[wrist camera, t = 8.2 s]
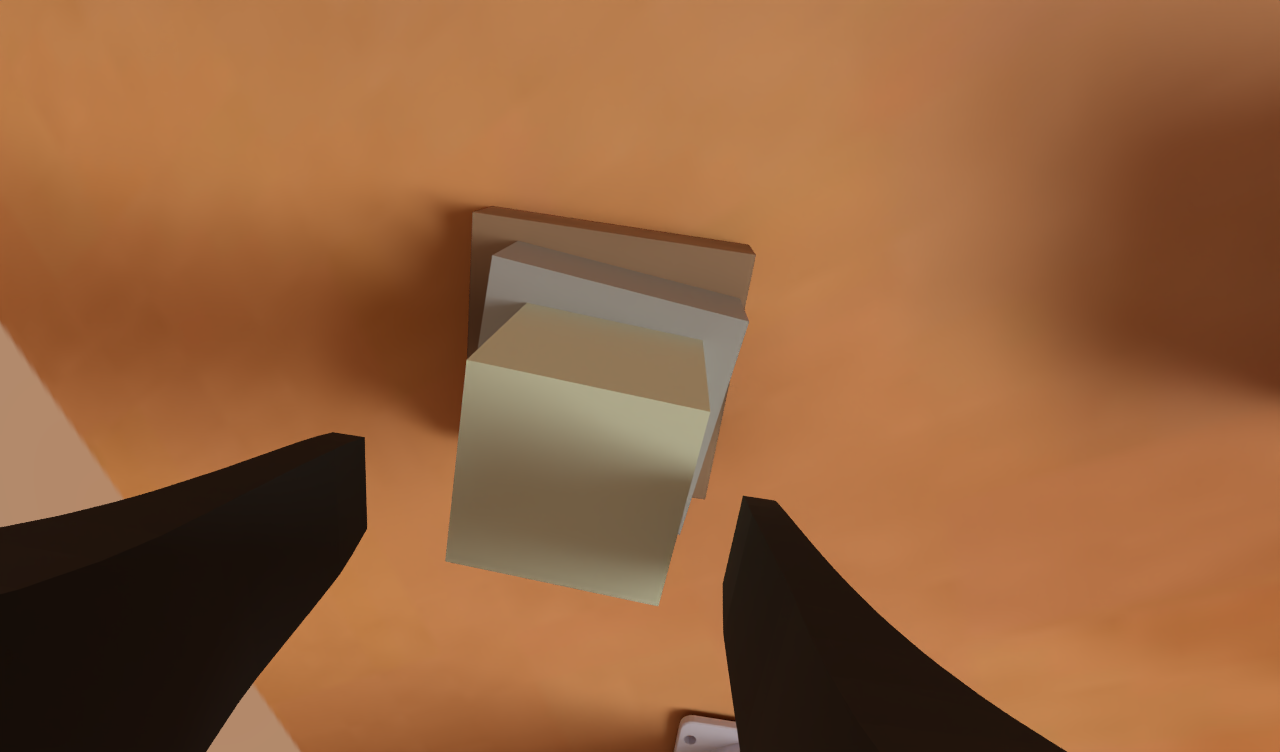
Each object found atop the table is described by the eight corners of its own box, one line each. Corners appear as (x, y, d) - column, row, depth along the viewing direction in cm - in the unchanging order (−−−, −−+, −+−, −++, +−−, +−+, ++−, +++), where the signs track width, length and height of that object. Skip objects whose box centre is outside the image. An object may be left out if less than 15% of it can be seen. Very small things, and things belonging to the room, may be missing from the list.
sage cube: (664, 492, 17) (658, 606, 12) (505, 458, 17) (445, 561, 12) (702, 340, 15) (710, 411, 11) (527, 302, 15) (467, 359, 11)
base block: (702, 462, 22) (705, 499, 20) (486, 428, 22) (463, 461, 20) (747, 242, 19) (755, 255, 17) (498, 204, 19) (472, 211, 17)
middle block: (679, 488, 19) (679, 534, 17) (484, 439, 19) (457, 479, 17) (740, 298, 17) (749, 321, 15) (518, 240, 17) (492, 255, 15)
